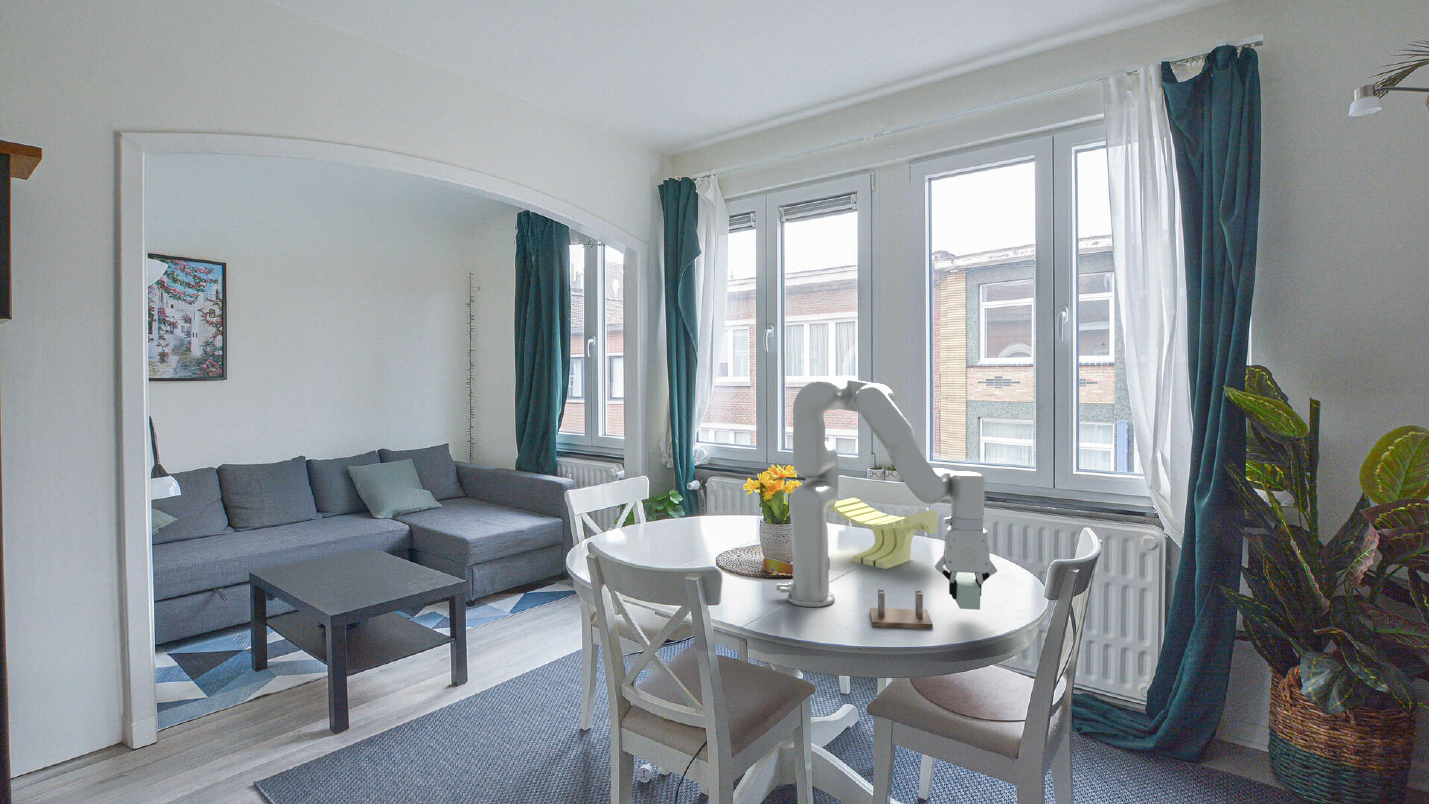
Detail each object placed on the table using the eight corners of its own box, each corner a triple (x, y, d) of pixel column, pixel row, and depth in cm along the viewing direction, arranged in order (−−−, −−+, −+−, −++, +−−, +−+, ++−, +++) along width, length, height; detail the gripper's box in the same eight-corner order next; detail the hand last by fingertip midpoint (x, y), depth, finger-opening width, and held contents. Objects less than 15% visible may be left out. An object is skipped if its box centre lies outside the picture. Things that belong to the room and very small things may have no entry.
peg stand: (872, 626, 170) (872, 597, 170) (869, 612, 180) (869, 584, 180) (932, 628, 168) (932, 599, 168) (926, 614, 178) (926, 586, 177)
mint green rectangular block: (959, 608, 166) (960, 587, 166) (950, 592, 178) (951, 572, 177) (979, 609, 165) (980, 588, 165) (969, 593, 177) (970, 573, 177)
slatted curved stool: (937, 564, 223) (937, 507, 222) (909, 574, 212) (908, 515, 211) (859, 547, 245) (858, 496, 244) (830, 556, 234) (829, 502, 234)
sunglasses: (754, 571, 219) (755, 555, 220) (785, 568, 230) (786, 552, 230) (790, 580, 209) (791, 563, 210) (820, 576, 220) (821, 560, 220)
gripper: (932, 525, 168) (931, 601, 169) (1007, 528, 165) (1005, 605, 166) (928, 518, 175) (926, 591, 176) (1000, 521, 173) (997, 595, 174)
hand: (964, 597), depth 171 cm, fingers closed on mint green rectangular block, 4 cm apart
